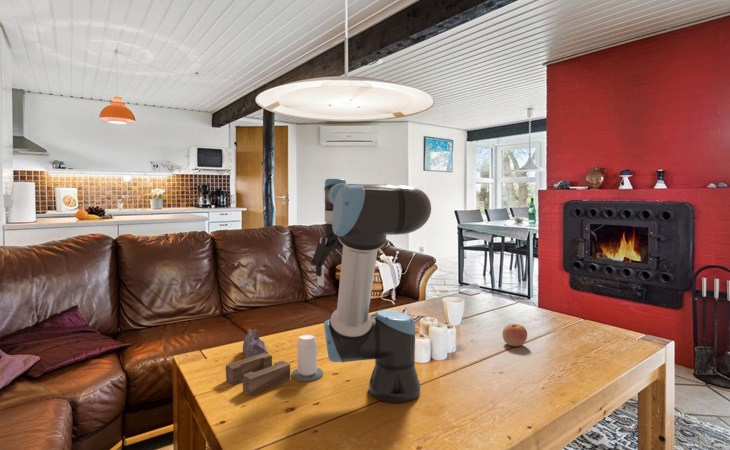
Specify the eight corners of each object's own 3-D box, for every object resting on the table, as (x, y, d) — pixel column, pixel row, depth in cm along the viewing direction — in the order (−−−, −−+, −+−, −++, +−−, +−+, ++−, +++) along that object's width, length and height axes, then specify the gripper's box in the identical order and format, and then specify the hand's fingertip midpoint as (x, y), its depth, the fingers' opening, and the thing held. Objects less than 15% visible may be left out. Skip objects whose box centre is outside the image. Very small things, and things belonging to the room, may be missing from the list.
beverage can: (319, 370, 131) (319, 334, 130) (312, 378, 125) (312, 340, 124) (302, 368, 133) (302, 332, 132) (294, 376, 127) (294, 338, 126)
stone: (267, 334, 136) (256, 321, 150) (249, 339, 134) (239, 324, 147) (269, 364, 138) (258, 348, 151) (251, 368, 135) (241, 352, 148)
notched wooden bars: (290, 379, 125) (290, 364, 125) (250, 395, 115) (250, 379, 115) (264, 366, 135) (264, 352, 134) (226, 380, 124) (225, 364, 124)
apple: (531, 347, 154) (532, 327, 153) (512, 350, 151) (513, 329, 150) (515, 339, 162) (515, 320, 161) (497, 342, 159) (497, 322, 158)
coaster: (329, 374, 129) (329, 372, 129) (305, 384, 122) (305, 383, 122) (309, 365, 136) (309, 363, 136) (285, 374, 129) (285, 373, 129)
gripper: (352, 220, 153) (352, 275, 155) (300, 223, 135) (300, 286, 136) (366, 221, 148) (366, 278, 150) (315, 225, 130) (315, 289, 131)
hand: (335, 282), depth 143 cm, fingers open, 13 cm apart
